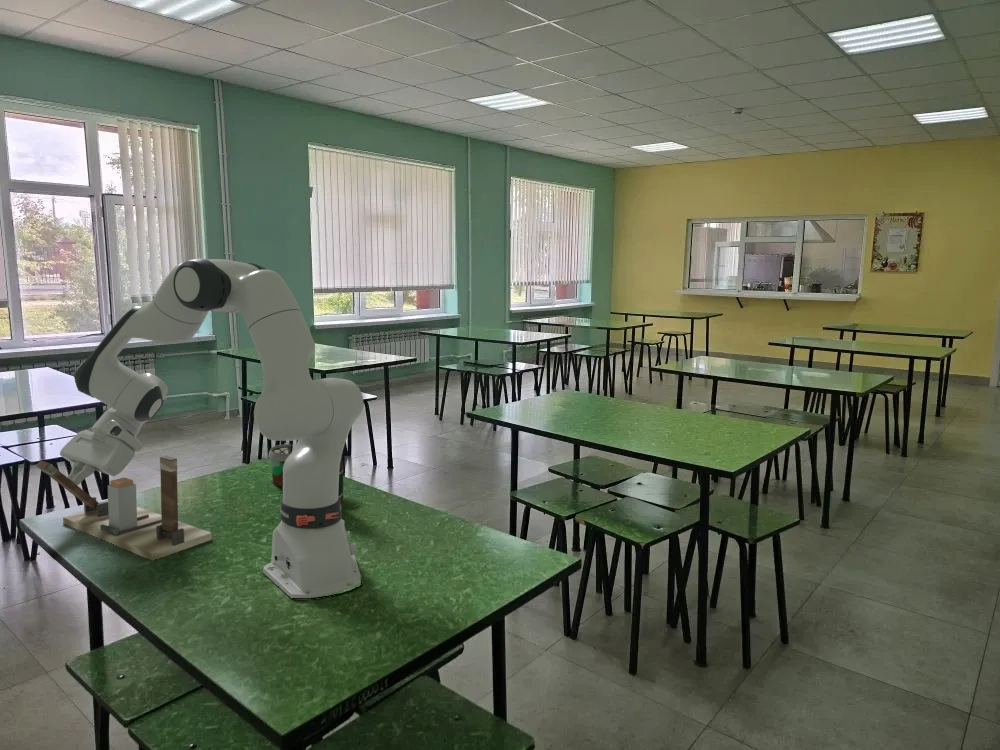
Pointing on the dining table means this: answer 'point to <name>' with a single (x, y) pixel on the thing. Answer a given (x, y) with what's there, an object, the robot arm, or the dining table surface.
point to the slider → (122, 504)
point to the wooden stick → (67, 484)
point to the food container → (279, 462)
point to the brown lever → (169, 495)
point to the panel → (137, 532)
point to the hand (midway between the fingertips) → (71, 482)
